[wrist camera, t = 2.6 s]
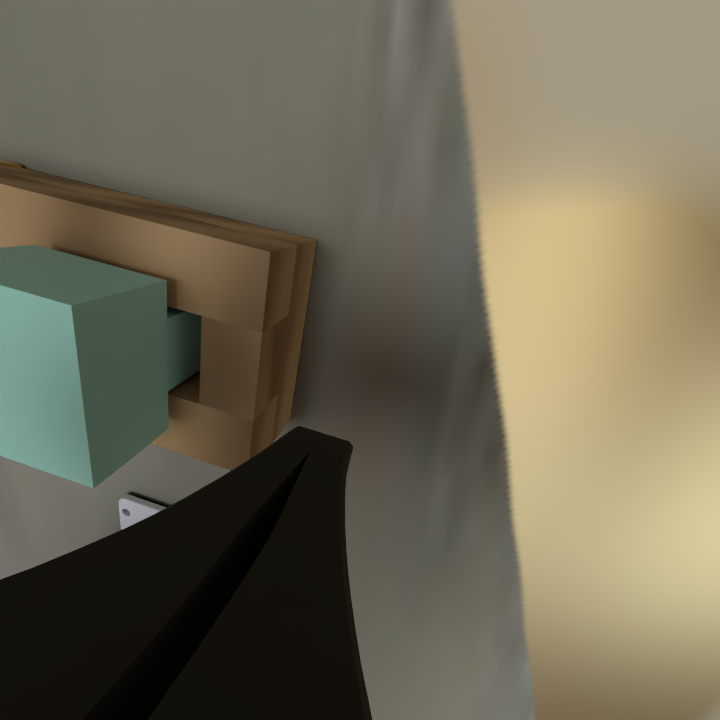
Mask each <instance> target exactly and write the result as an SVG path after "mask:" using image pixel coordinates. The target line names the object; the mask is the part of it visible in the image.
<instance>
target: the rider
mask: <svg viewBox="0 0 720 720" xmlns="http://www.w3.org/2000/svg"><path fill="white" fill-rule="evenodd" d="M201 320H202V316H200V315H197V314H193V313H190V312H186V311H183V310H179V309H176V308H172V307H168V306H167V280H163V279H160V278H156V277H152V276H149V275H145V274H141V273H138V272H134V271H130V270H127V269H123V268H119V267H116V266H112V265H108V264H105V263H101V262H97V261H94V260H90V259H86V258H82V257H79V256H75V255H71V254H68V253H64V252H60V251H57V250H53V249H49V248H46V247H42V246H38V245H35V244H34V245H23V246H13V247H2V248H0V456H3V457H5V458H8V459H11V460H14V461H17V462H20V463H22V464H25V465H28V466H31V467H34V468H37V469H39V470H42V471H45V472H48V473H51V474H54V475H56V476H59V477H62V478H65V479H68V480H71V481H74V482H76V483H79V484H82V485H85V486H88V487H91V488H95V487H96V486H97V485H99V484H100V483H101V482H102V481H104V480H105V479H106V478H107V477H109V476H110V475H111V474H112V473H114V472H115V471H116V470H117V469H119V468H120V467H121V466H122V465H124V464H125V463H126V462H127V461H129V460H130V459H131V458H133V457H134V456H135V455H136V454H138V453H139V452H140V451H141V450H143V449H144V448H145V447H146V446H148V445H149V444H150V443H151V442H153V441H154V440H155V439H156V438H158V437H159V436H160V435H161V434H163V433H164V432H165V431H166V430H168V391H169V390H171V389H172V388H174V387H175V386H177V385H178V384H180V383H181V382H183V381H184V380H186V379H188V378H189V377H191V376H192V375H194V374H195V373H197V372H198V371H200V355H201Z"/></svg>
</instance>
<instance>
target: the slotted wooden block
mask: <svg viewBox="0 0 720 720" xmlns="http://www.w3.org/2000/svg"><path fill="white" fill-rule="evenodd" d="M316 243H317V240H315V239H311V238H307V237H302V236H298V235H294V234H290V233H286V232H282V231H278V230H274V229H270V228H266V227H262V226H258V225H254V224H249V223H245V222H241V221H237V220H233V219H229V218H225V217H221V216H217V215H213V214H209V213H205V212H201V211H196V210H192V209H188V208H184V207H180V206H176V205H172V204H168V203H164V202H160V201H156V200H152V199H148V198H143V197H139V196H135V195H131V194H127V193H123V192H119V191H115V190H111V189H107V188H103V187H99V186H95V185H90V184H86V183H82V182H78V181H74V180H70V179H66V178H62V177H58V176H54V175H50V174H46V173H42V172H37V171H33V170H29V169H25V168H22V165H20V164H16V163H12V162H8V161H0V248H2V247H13V246H23V245H34V244H35V245H38V246H42V247H46V248H49V249H53V250H57V251H60V252H64V253H68V254H71V255H75V256H79V257H82V258H86V259H90V260H94V261H97V262H101V263H105V264H108V265H112V266H116V267H119V268H123V269H127V270H130V271H134V272H138V273H141V274H145V275H149V276H152V277H156V278H160V279H163V280H167V306H168V307H172V308H176V309H179V310H183V311H186V312H190V313H193V314H197V315H200V316H202V320H201V355H200V371H198V372H197V373H195V374H194V375H192V376H191V377H189V378H188V379H186V380H184V381H183V382H181V383H180V384H178V385H177V386H175V387H174V388H172V389H171V390H169V391H168V430H166V431H165V432H164V433H163V434H161V435H160V436H159V437H158V438H156V439H155V440H154V441H153V442H151V443H150V444H153V445H156V446H159V447H162V448H165V449H168V450H171V451H175V452H178V453H181V454H184V455H187V456H190V457H193V458H196V459H199V460H202V461H205V462H208V463H211V464H214V465H217V466H220V467H223V468H226V469H229V470H233V469H235V468H236V467H238V466H239V465H241V464H243V463H244V462H246V461H247V460H249V459H250V458H252V457H254V456H255V455H257V454H258V453H259V452H261V451H262V450H264V449H265V448H267V447H268V446H270V445H271V444H272V443H273V441H274V440H275V439H276V437H277V436H278V435H279V433H280V432H281V431H282V429H283V428H284V427H285V425H286V424H287V423H288V421H289V420H290V417H291V410H292V403H293V397H294V390H295V383H296V377H297V370H298V363H299V357H300V350H301V343H302V337H303V330H304V323H305V316H306V310H307V303H308V296H309V290H310V283H311V276H312V270H313V263H314V256H315V250H316Z"/></svg>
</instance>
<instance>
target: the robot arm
mask: <svg viewBox="0 0 720 720" xmlns="http://www.w3.org/2000/svg"><path fill="white" fill-rule="evenodd" d="M352 450H353V446H352V445H351V443H350V442H349V441H346V440H343V439H340V438H336V437H333V436H330V435H327V434H323V433H320V432H317V431H314V430H310V429H307V428H304V427H301V426H298V427H296V428H294V429H292V430H291V431H290V432H288V433H287V434H285V435H284V436H283V437H281V438H280V439H278V440H277V441H276V442H274V443H273V444H271V445H270V446H268V447H267V448H265V449H264V450H262V451H261V452H259V453H258V454H257V455H255V456H254V457H252V458H250V459H249V460H247V461H246V462H244V463H243V464H241V465H239V466H238V467H236V468H235V469H233V470H232V471H230V472H229V473H227V474H225V475H224V476H222V477H220V478H219V479H217V480H215V481H214V482H212V483H210V484H208V485H207V486H205V487H203V488H201V489H200V490H198V491H196V492H194V493H193V494H191V495H189V496H187V497H186V498H184V499H182V500H180V501H178V502H177V503H175V504H173V505H171V506H169V507H167V508H166V507H163V506H160V505H158V504H155V503H152V502H149V501H146V500H143V499H140V498H138V497H135V496H132V495H124V496H123V497H122V498H121V499H120V500H119V513H120V524H121V530H120V531H118V532H116V533H114V534H111V535H109V536H107V537H105V538H102V539H100V540H98V541H95V542H93V543H91V544H89V545H86V546H84V547H82V548H79V549H77V550H75V551H72V552H70V553H67V554H65V555H63V556H60V557H58V558H55V559H53V560H51V561H48V562H46V563H43V564H41V565H38V566H36V567H33V568H31V569H28V570H25V571H23V572H20V573H17V574H15V575H12V576H9V577H6V578H4V579H1V580H0V720H372V716H371V711H370V706H369V701H368V696H367V691H366V686H365V681H364V676H363V672H362V667H361V661H360V655H359V649H358V643H357V636H356V630H355V624H354V617H353V609H352V602H351V594H350V585H349V576H348V565H347V552H346V537H345V485H346V475H347V471H348V466H349V462H350V458H351V454H352Z"/></svg>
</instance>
